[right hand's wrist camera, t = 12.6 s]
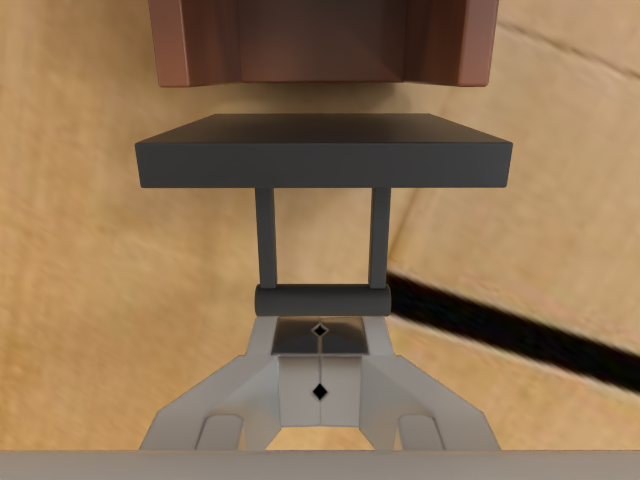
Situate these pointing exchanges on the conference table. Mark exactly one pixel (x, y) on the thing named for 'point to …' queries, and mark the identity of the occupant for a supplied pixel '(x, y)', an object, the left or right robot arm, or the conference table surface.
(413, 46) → the drawer
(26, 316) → the conference table surface
